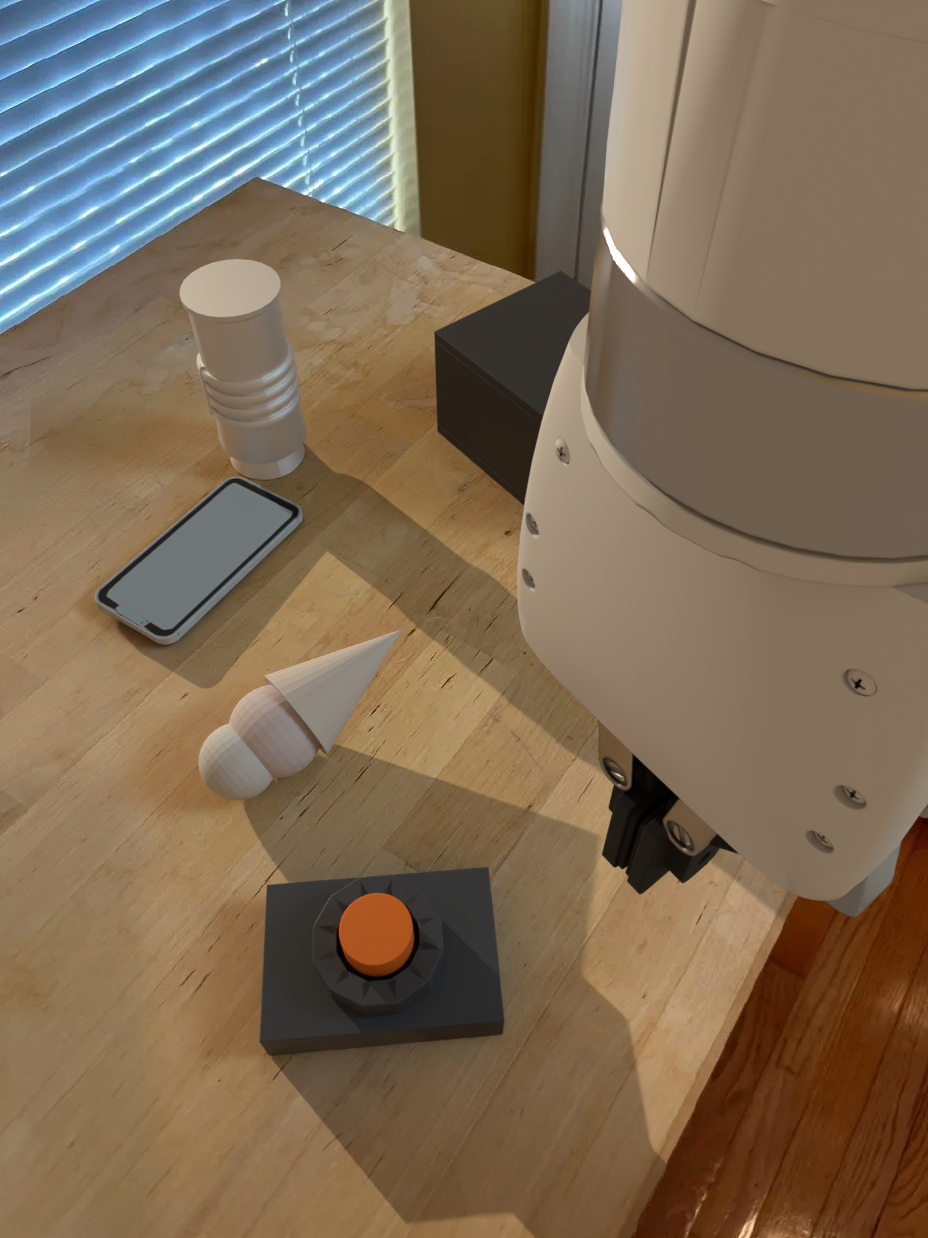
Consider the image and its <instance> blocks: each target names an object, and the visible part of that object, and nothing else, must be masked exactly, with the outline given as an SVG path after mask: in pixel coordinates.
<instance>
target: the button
mask: <svg viewBox="0 0 928 1238" xmlns="http://www.w3.org/2000/svg"><path fill="white" fill-rule="evenodd" d="M339 938H340V942H341V945H342V948H343V951H344V954H345V957H346V959H347V961H348V962H349V964H350V965H351V966H352V967H353V968H354V969H355V970H357V971H358V972H360V973H362V974H364V975H368V976H374V977H377V976H385V975H388V974H391V973H393V972H395V971H396V970H398V969H399V968H400V967H402V966H403V965H404V964H405V962H406V961H407V960H408V958H409V956H410V954H411V952H412V949H413V945H414V932H413V924H412V919H411V915H410V913H409V911H408V909H407V908H406V906H405V905H404V904H403V903H402V902H401V901H400V900H398V899H397V898H395V897H393V896H391V895H388V894H384V893H372V894H368V895H364V896H362V897H360V898H358V899H357V900H355V901H354V902H353V903H352V904H351V905H349V907H348V908H347V909H346V911H345V912H344V914H343V916H342V918H341V921H340V926H339Z"/></svg>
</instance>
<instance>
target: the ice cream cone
mask: <svg viewBox="0 0 928 1238" xmlns="http://www.w3.org/2000/svg"><path fill="white" fill-rule="evenodd" d="M403 630H404V629H403V628H401V629H398V630H396V631H393V632H389V633H386V634H383V635H381V636H378V637H375V638H371V639H368V640H366V641H363V642H359V643H357V644H354V645H351V646H348V647H345V648H342V649H339V650H336V651H334V652H330V653H328V654H324V655H321V656H318V657H316V658H312V659H309V660H306V661H303V662H300V663H297V664H295V665H292V666H288V667H286V668H285V667H284V668H282V669H279V670H276V671H274V672H270V673H268V674H265V675H263V676H262V677H263V679H264V681H265V682H266V685H262V686H260V687H257V688H254V689H253V690H251V691H250V692H248V693H246V694H245V695H244V696H243V697H242V698H241V699H239V701H238V703H237V704H236V706H234V708H233V711H232V712H231V715H230V717H229V720H228V723H226V724H224V725H221V726H219V727H217V728H216V729H214V730H213V731H212V732H211V733H210V734H209V735H208V736H207V737H206V739H205V740H204V741H203V744H202V746H201V748H200V751H199V755H198V770H199V774H200V777H201V780H202V781H203V783H204V785H205V786H206V787H207V788H208V789H209V790H210V791H211V792H212V793H213V794H215V795H217V796H218V797H220V798H223V799H225V800H230V801H244V800H248V799H251V798H254V797H256V796H259V795H260V794H261V793H263V792H264V791H265V790H266V789H267V788H268V787H269V786H270V785H271V783H272V781H273V780H274V779H282V778H287V777H291V776H293V775H295V774H297V773H298V774H299V772H301V771H302V770H304V769H305V768H307V766H308V765H309V764H310V763H312V762H313V760H314V759H315V757H316V756H317V754H318V753H319V750H321V751H322V752H323V753H324V754H325V755H326V756H327V755H328V754H329V753H330V751H331V750H332V748H333V746H334V745H335V743H336V741H337V740H338V738H339V736H340V735H341V733H342V732H343V729H344V728H345V726H346V724H347V723H348V721H349V719H350V718H351V716H352V715H353V713H354V711H355V710H356V708H357V707H358V705H359V703H360V701H361V699H363V696H364V695H365V693H366V691H367V689H368V688H369V686H370V685H371V683H372V681H374V678H375V677H376V674H377V673H378V672H379V669H380V668H381V666H382V665H383V663H384V662H385V659H386V658H387V656H388V655H389V653H390V652H391V650H392V649H393V646H394V644H395V643H396V641H397V640H398V638H399V636H400V635H401V633H402V631H403Z"/></svg>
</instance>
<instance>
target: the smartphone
mask: <svg viewBox="0 0 928 1238" xmlns="http://www.w3.org/2000/svg"><path fill="white" fill-rule="evenodd" d="M303 518H304V517H303V511H302V507H301V506H300V505H299V504H297V503H295V502H293V501H291V500H289V499H287V498H285V497H283V496H281V495H280V494H277V493H275V492H272V491H271V490H270V489H267V488H265V487H263V486H260V485H258V484H257V483H255V482H253V481H251V480H249V479H246V477H243V476H231V477H227V478H226V479H224V480H223V481H222V482H221V483H220V484H219V485H217V486H216V487H215V488H214V489H213V490H212V491H210V492H209V493H208V494H207V495H205V497H204V498H202V499H201V500H200V501H199V502H198V503H196V504H195V505H193V507H192V508H191V509H190V510H188V511H187V512H186V513H185V514H183V515H182V516H181V517H180V518H179V519H178V520H177V521H175V522H174V523H173V524H172V525H171V526H170V527H168V528H167V529H166V530H165V531H164V532H163V533H162V534H160V535H159V536H158V537H157V538H156V539H154V540H153V541H152V542H151V543H150V544H149V545H147V546H146V547H145V548H144V549H142V551H140V552H139V553H138V554H137V555H136V556H134V557H133V558H132V559H131V560H130V561H129V562H128V563H126V564H125V565H124V566H123V567H122V568H121V569H119V570H118V571H117V572H116V573H114V574H113V576H111V577H110V578H109V579H107V581H106V582H104V583H103V584H102V585H101V586H100V587H98V588H97V589H96V591H95V593H94V601H95V603H96V605H97V607H98V608H99V610H101V611H103V612H104V613H106V614H107V615H109V616H111V617H113V618H114V619H116V620H118V621H119V622H121V623H123V624H124V625H126V626H128V627H129V628H131V629H133V630H135V631H137V632H138V633H140V634H141V635H143V636H144V637H146V638H148V639H150V640H151V641H153V642H155V643H156V644H158V645H170V644H171V645H172V644H174V643H176V642H177V641H179V640H180V639H182V637H183V636H184V635H185V634H187V632H188V631H190V630H191V628H193V627H194V626H195V625H196V624H197V623H198V622H199V621H200V620H201V619H202V618H203V617H204V616H205V615H206V614H208V612H209V611H210V610H211V609H212V608H214V607H215V605H217V604H218V603H219V602H220V601H221V600H222V599H223V598H224V597H225V596H226V595H227V594H228V593H229V592H230V591H231V590H232V589H233V588H235V586H237V585H238V584H239V583H240V582H241V581H242V580H243V579H244V578H245V577H246V576H247V575H248V574H249V573H250V572H252V570H254V569H255V567H257V566H258V564H260V563H261V562H262V561H263V560H264V559H265V558H266V557H267V556H268V555H269V554H270V553H271V552H272V551H273V550H274V549H275V548H276V547H277V546H278V545H280V543H282V542H283V541H284V540H285V539H286V538H287V537H288V536H289V535H290V534H291V533H292V532H293V531H294V530H295V529H296V528H297V527H298V526H299V525H301V523H302V522H303V520H304V519H303Z"/></svg>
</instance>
